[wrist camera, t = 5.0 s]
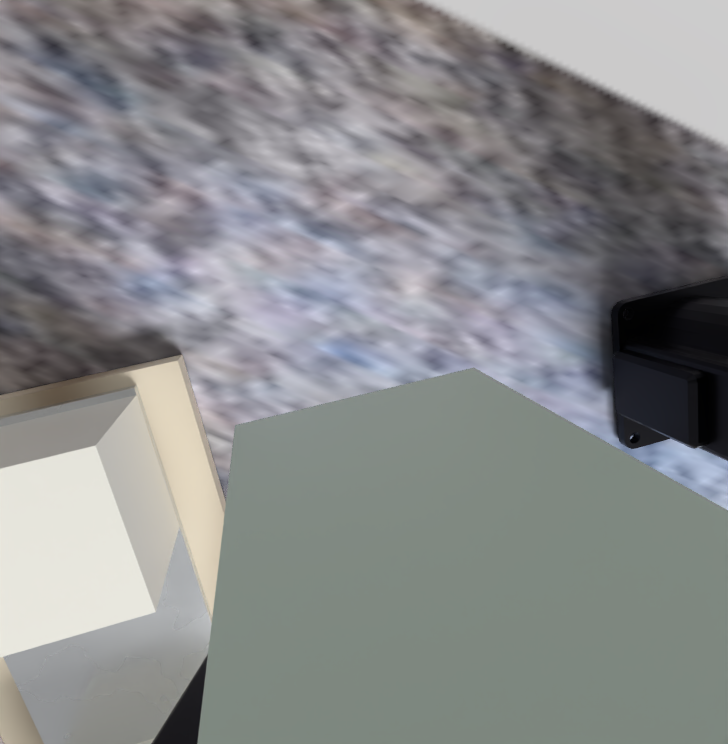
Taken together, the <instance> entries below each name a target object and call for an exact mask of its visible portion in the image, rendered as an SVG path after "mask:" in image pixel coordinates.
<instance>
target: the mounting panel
mask: <svg viewBox="0 0 728 744" xmlns="http://www.w3.org/2000/svg"><path fill="white" fill-rule="evenodd" d="M134 385H137V387H138V390H139V393H140V396H141V399H142V402H143V405H144V408H145V411H146V415H147V418H148V421H149V424H150V427H151V430H152V433H153V436H154V439H155V442H156V445H157V448H158V451H159V454H160V457H161V461H162V464H163V467H164V470H165V473H166V476H167V479H168V482H169V485H170V488H171V491H172V494H173V497H174V500H175V503H176V506H177V510H178V513H179V516H180V519H181V522H182V525H183V528H184V531H185V534H186V537H187V540H188V543H189V546H190V549H191V552H192V556H193V559H194V562H195V565H196V568H197V571H198V574H199V577H200V580H201V583H202V586H203V589H204V592H205V595H206V598H207V602H208V605H209V608H210V611H211V614H212V616H213V608H214V599H215V591H216V582H217V574H218V566H219V557H220V549H221V540H222V532H223V524H224V515H225V507H226V501H225V498H224V494H223V491H222V488H221V484H220V481H219V478H218V474H217V471H216V467H215V464H214V461H213V457H212V454H211V450H210V447H209V444H208V440H207V437H206V434H205V430H204V427H203V423H202V420H201V417H200V413H199V410H198V407H197V403H196V400H195V396H194V393H193V390H192V386H191V383H190V379H189V376H188V373H187V369H186V366H185V363H184V359H183V356H182V355H177V356H173V357H169V358H164V359H160V360H155V361H151V362H146V363H142V364H137V365H133V366H128V367H124V368H119V369H115V370H110V371H106V372H101V373H97V374H92V375H88V376H84V377H79V378H75V379H70V380H66V381H61V382H57V383H52V384H48V385H43V386H39V387H34V388H30V389H25V390H21V391H16V392H12V393H7V394H3V395H0V416H3V415H7V414H12V413H16V412H20V411H25V410H29V409H33V408H38V407H42V406H47V405H51V404H55V403H60V402H64V401H68V400H73V399H77V398H82V397H86V396H90V395H95V394H99V393H103V392H108V391H112V390H116V389H121V388H125V387H130V386H134ZM0 736H1V738H2V740H3V742H4V744H44V743H43V741H42V738H41V736H40V734H39V732H38V730H37V728H36V726H35V724H34V722H33V719H32V717H31V715H30V713H29V711H28V709H27V707H26V705H25V703H24V700H23V698H22V696H21V694H20V692H19V690H18V688H17V686H16V683H15V681H14V679H13V677H12V675H11V673H10V671H9V669H8V667H7V664H6V662H5V660H4V658H3V657H0Z"/></svg>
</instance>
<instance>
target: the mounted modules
mask: <svg viewBox="0 0 728 744" xmlns="http://www.w3.org/2000/svg"><path fill="white" fill-rule="evenodd" d="M179 527H180V526H179V523H178V520H177V517H176V514H175V511H174V508H173V505H172V502H171V499H170V496H169V493H168V490H167V487H166V484H165V481H164V478H163V474H162V471H161V468H160V465H159V462H158V459H157V456H156V453H155V450H154V447H153V444H152V441H151V438H150V435H149V432H148V429H147V426H146V423H145V420H144V417H143V414H142V411H141V407H140V404H139V401H138V398H137V395H135V396H130V397H126V398H122V399H117V400H113V401H109V402H104V403H100V404H96V405H92V406H87V407H83V408H79V409H74V410H70V411H66V412H61V413H57V414H53V415H48V416H44V417H40V418H35V419H31V420H27V421H22V422H18V423H14V424H10V425H5V426H1V427H0V657H4V656H7V655H11V654H14V653H17V652H21V651H24V650H28V649H31V648H35V647H38V646H41V645H45V644H48V643H52V642H55V641H59V640H62V639H65V638H69V637H72V636H76V635H79V634H83V633H86V632H89V631H93V630H96V629H100V628H103V627H107V626H110V625H113V624H117V623H120V622H124V621H127V620H131V619H134V618H137V617H141V616H144V615H148V614H151V613H155V612H156V610H157V606H158V602H159V599H160V595H161V592H162V588H163V584H164V581H165V577H166V573H167V570H168V566H169V563H170V559H171V555H172V552H173V548H174V545H175V541H176V537H177V534H178V530H179ZM153 740H154V738H153V739H150V740H147V741H144V742H140V743H137V744H151V743H152V741H153Z"/></svg>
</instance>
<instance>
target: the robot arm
mask: <svg viewBox="0 0 728 744" xmlns="http://www.w3.org/2000/svg"><path fill="white" fill-rule="evenodd" d="M625 309H627V310H628V313H627V316H626V317H625V318H624V316H623V313H624V311H625ZM611 318H612V335H613V352H614V357H613V369H614V386H615V403H616V411H617V420H618V437H619V441H620V442H621V444H623V445H625V446H626V447H628V448H631V449H634V448H639V447H642V446H646V445H649V444H653V443H656V442H660V441H663V440H667V439H670V438H671V439H673V440H675V441H678V442H680V443H682V444H684V445H686V446H688V447H690V448H700V449H703V450H705V451H707V452H709V453H711V454H713V455H716V456H718V457H720V458H722V459H724V460H727V461H728V276H723V277H719V278H715V279H711V280H707V281H702V282H698V283H694V284H690V285H685V286H681V287H677V288H673V289H669V290H664V291H660V292H656V293H652V294H648V295H643V296H639V297H635V298H631V299H626V300H622V301H620V302H618V303H617V304H616V305H615V306H614V307H613V309H612V314H611ZM633 433H634V435H633V437H632V439H630V436H631V435H632V434H633ZM207 658H208V654H207V656H206V657H205V659H204V660H203V662H202V663H201V665H200V667H199V668H198V670H197V671H196V673H195V675H194V676H193V678H192V679H191V681H190V683H189V684H188V686H187V687H186V689H185V691H184V692H183V694H182V695H181V697H180V698H179V700H178V702H177V703H176V705H175V706H174V708H173V710H172V711H171V713H170V714H169V716H168V718H167V719H166V721H165V722H164V724H163V726H162V727H161V729H160V730H159V732H158V733H157V735H156V737H155V738H154V740H153V741H152V743H151V744H197V742H198V734H199V726H200V717H201V709H202V700H203V692H204V683H205V675H206V667H207Z"/></svg>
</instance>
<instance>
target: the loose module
mask: <svg viewBox="0 0 728 744" xmlns="http://www.w3.org/2000/svg"><path fill="white" fill-rule="evenodd" d="M197 744H728V510H726V509H724V508H722V507H721V506H719V505H717V504H715V503H714V502H712V501H710V500H708V499H706V498H705V497H703V496H701V495H699V494H698V493H696V492H694V491H692V490H690V489H689V488H687V487H685V486H683V485H682V484H680V483H678V482H676V481H674V480H673V479H671V478H669V477H667V476H666V475H664V474H662V473H660V472H658V471H657V470H655V469H653V468H651V467H650V466H648V465H646V464H644V463H642V462H641V461H639V460H637V459H635V458H634V457H632V456H630V455H628V454H626V453H625V452H623V451H621V450H619V449H618V448H616V447H614V446H612V445H610V444H609V443H607V442H605V441H603V440H602V439H600V438H598V437H596V436H594V435H593V434H591V433H589V432H587V431H586V430H584V429H582V428H580V427H578V426H577V425H575V424H573V423H571V422H570V421H568V420H566V419H564V418H562V417H561V416H559V415H557V414H555V413H554V412H552V411H550V410H548V409H546V408H545V407H543V406H541V405H539V404H538V403H536V402H534V401H532V400H530V399H529V398H527V397H525V396H523V395H521V394H520V393H518V392H516V391H514V390H513V389H511V388H509V387H507V386H505V385H504V384H502V383H500V382H498V381H497V380H495V379H493V378H491V377H489V376H488V375H486V374H484V373H482V372H481V371H479V370H477V369H475V368H471V369H466V370H462V371H458V372H454V373H450V374H446V375H442V376H437V377H433V378H429V379H425V380H421V381H417V382H413V383H408V384H404V385H400V386H396V387H392V388H388V389H384V390H379V391H375V392H371V393H367V394H363V395H359V396H355V397H350V398H346V399H342V400H338V401H334V402H330V403H326V404H321V405H317V406H313V407H309V408H305V409H301V410H297V411H292V412H288V413H284V414H280V415H276V416H272V417H268V418H263V419H259V420H255V421H251V422H247V423H243V424H239V425H235V431H234V439H233V448H232V456H231V465H230V473H229V481H228V490H227V498H226V507H225V515H224V524H223V532H222V540H221V549H220V557H219V566H218V574H217V582H216V591H215V599H214V608H213V616H212V625H211V633H210V641H209V650H208V658H207V667H206V675H205V683H204V692H203V700H202V709H201V717H200V726H199V734H198V742H197Z"/></svg>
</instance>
